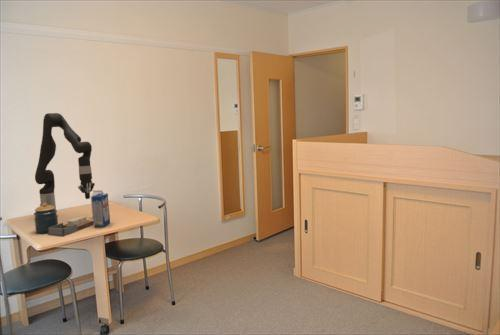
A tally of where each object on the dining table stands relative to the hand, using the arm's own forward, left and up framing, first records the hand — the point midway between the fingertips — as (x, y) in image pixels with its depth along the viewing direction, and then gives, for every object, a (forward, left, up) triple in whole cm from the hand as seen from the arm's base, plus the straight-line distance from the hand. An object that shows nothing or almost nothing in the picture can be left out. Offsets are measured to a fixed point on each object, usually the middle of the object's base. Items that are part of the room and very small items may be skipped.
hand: (87, 198), depth 261 cm
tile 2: (0, -8, -14) cm, 16 cm away
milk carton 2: (+13, -3, -16) cm, 21 cm away
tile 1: (0, -13, -14) cm, 19 cm away
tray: (0, -22, -16) cm, 28 cm away
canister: (-14, -22, -16) cm, 30 cm away
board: (0, -10, -16) cm, 19 cm away
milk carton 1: (-3, +13, -16) cm, 21 cm away
